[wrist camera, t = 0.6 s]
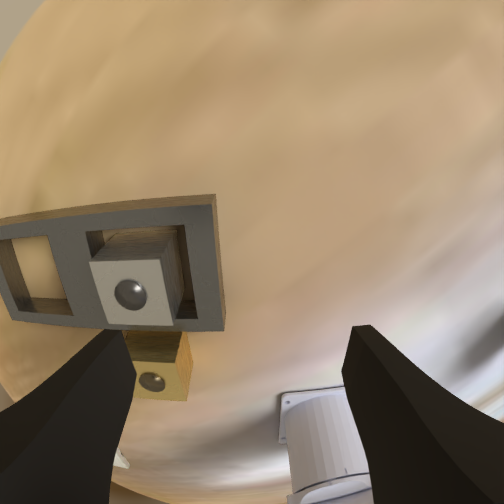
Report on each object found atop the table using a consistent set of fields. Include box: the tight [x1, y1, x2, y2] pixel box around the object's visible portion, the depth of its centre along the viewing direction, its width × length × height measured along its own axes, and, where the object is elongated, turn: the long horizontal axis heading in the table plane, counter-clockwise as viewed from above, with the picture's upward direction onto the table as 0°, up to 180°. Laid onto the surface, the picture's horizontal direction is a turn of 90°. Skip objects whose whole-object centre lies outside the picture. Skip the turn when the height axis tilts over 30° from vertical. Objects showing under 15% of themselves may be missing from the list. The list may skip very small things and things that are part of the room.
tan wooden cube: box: [125, 330, 193, 401], centre depth 19 cm, size 4×4×4 cm
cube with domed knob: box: [89, 230, 185, 326], centre depth 16 cm, size 4×4×4 cm
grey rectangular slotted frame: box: [0, 194, 226, 332], centre depth 17 cm, size 8×18×2 cm, turn 92°
